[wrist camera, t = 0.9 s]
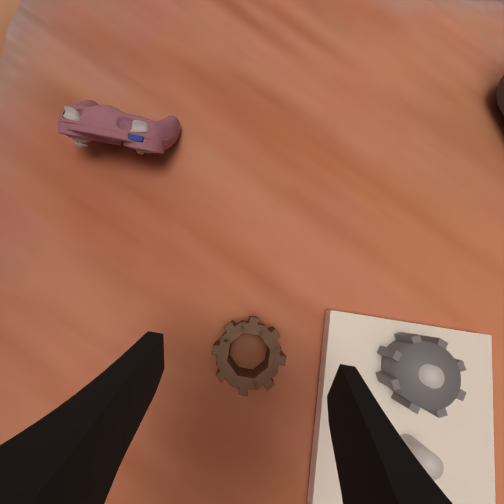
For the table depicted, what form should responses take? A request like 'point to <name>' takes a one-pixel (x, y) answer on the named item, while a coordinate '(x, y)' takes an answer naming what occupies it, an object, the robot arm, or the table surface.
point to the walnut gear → (242, 375)
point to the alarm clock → (500, 95)
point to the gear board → (428, 429)
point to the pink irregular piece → (117, 128)
